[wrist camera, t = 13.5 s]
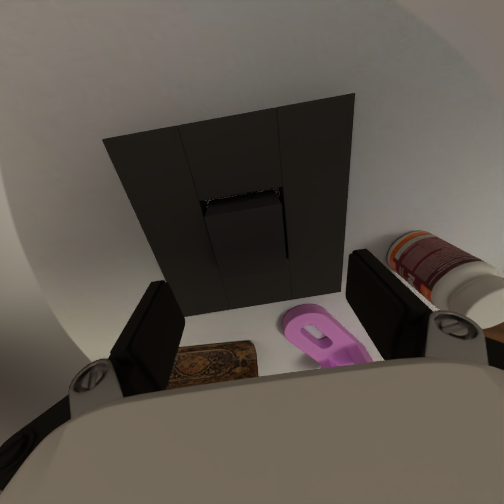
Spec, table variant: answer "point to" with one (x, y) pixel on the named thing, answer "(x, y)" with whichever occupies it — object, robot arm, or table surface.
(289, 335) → the bracket
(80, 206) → the table surface
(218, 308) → the base pad
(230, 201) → the pad
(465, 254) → the pill bottle
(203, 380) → the book
